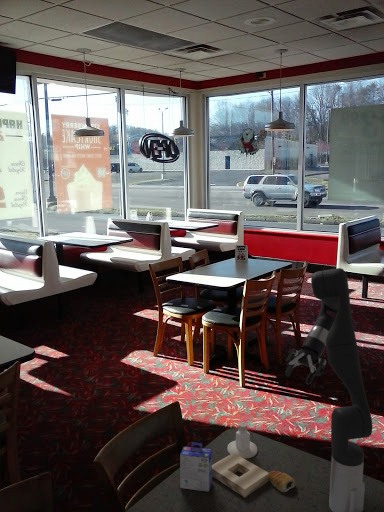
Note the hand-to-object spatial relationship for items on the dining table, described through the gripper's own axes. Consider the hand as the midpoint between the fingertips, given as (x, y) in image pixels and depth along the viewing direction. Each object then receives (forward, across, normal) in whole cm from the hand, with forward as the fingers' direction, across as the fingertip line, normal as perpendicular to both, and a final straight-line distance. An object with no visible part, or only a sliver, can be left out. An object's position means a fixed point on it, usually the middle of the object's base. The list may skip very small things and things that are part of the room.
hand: (296, 379), depth 175 cm
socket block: (+38, -4, +2) cm, 39 cm away
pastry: (+33, +8, +8) cm, 35 cm away
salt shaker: (+29, -14, +11) cm, 34 cm away
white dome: (+29, -14, +11) cm, 34 cm away
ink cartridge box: (+48, -11, -7) cm, 50 cm away
